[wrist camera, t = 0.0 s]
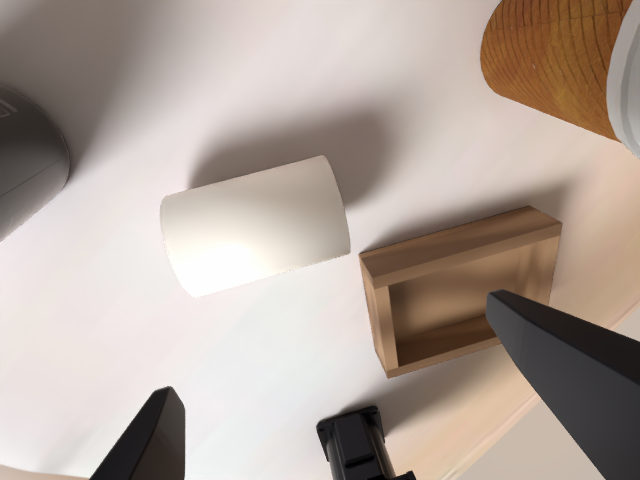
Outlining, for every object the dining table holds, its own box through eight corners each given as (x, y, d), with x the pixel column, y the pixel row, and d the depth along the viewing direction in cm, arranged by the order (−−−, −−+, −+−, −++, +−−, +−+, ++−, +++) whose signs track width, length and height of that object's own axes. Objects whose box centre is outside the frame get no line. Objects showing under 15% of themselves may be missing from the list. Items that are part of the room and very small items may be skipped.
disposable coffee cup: (447, -26, 19) (701, -124, 8) (609, -82, 19) (1053, -244, 9) (460, 143, 23) (633, 215, 13) (590, 97, 24) (860, 131, 13)
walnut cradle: (517, 306, 32) (543, 330, 30) (375, 350, 31) (387, 378, 29) (529, 205, 27) (562, 223, 24) (358, 254, 26) (372, 278, 23)
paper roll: (319, 143, 22) (344, 171, 17) (336, 226, 25) (361, 272, 20) (167, 182, 21) (143, 224, 16) (203, 262, 24) (193, 320, 19)
